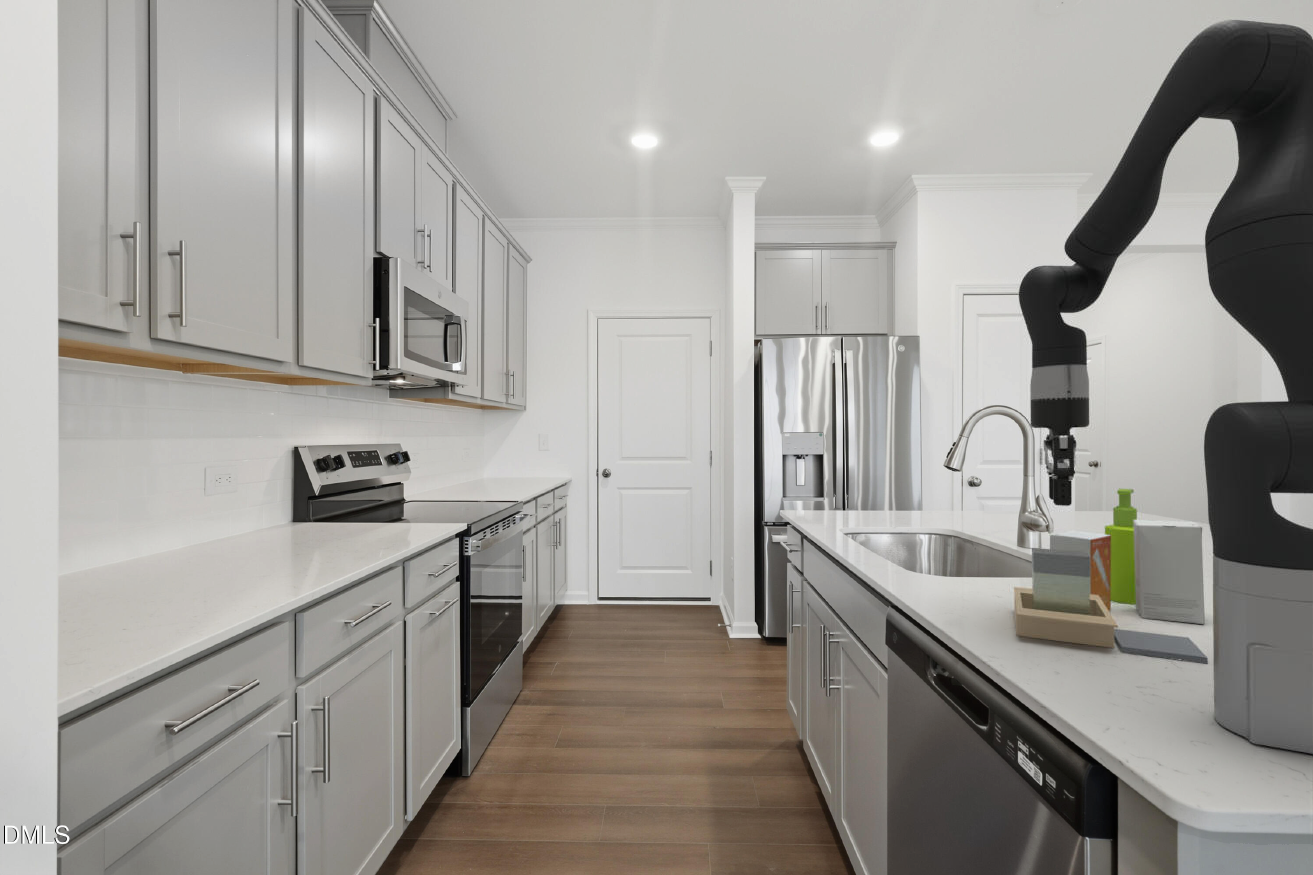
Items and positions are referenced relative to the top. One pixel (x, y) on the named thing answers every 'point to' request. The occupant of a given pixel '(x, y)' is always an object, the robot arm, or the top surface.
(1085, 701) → the top surface
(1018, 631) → the wooden rectangular frame
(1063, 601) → the tea tin
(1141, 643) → the mat
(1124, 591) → the soap dispenser
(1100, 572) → the small box
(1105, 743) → the top surface
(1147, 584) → the skincare box
